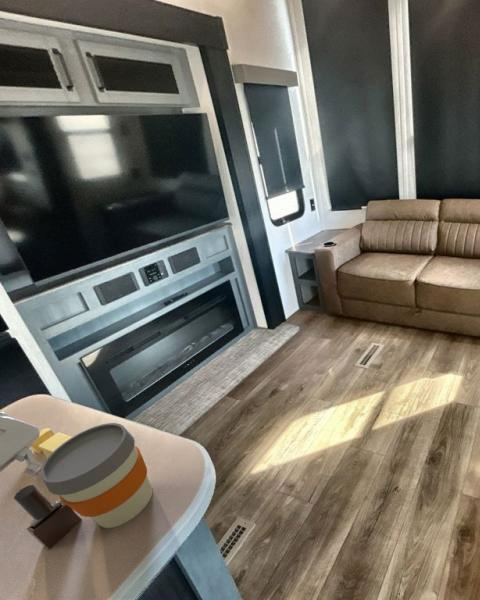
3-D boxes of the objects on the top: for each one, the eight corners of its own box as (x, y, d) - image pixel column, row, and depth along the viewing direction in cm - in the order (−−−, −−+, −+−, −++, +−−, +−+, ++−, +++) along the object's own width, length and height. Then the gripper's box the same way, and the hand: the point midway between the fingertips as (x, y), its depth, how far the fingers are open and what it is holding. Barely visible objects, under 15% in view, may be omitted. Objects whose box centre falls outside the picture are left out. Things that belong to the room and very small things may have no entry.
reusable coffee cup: (177, 482, 72) (143, 428, 65) (116, 548, 62) (68, 492, 55) (134, 468, 76) (98, 416, 69) (70, 527, 66) (20, 473, 59)
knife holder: (49, 549, 63) (32, 532, 60) (42, 545, 63) (25, 529, 61) (81, 520, 67) (67, 503, 65) (75, 516, 68) (60, 500, 65)
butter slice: (58, 439, 86) (50, 429, 85) (39, 453, 83) (30, 442, 81) (54, 437, 87) (45, 427, 85) (34, 451, 84) (25, 440, 82)
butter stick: (84, 449, 83) (76, 438, 81) (65, 464, 79) (56, 453, 78) (66, 442, 85) (58, 432, 84) (46, 456, 82) (37, 445, 80)
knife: (54, 546, 63) (14, 505, 58) (46, 541, 64) (5, 501, 59) (79, 524, 66) (42, 483, 61) (70, 519, 67) (34, 479, 62)
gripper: (-8, 417, 68) (65, 452, 71) (-168, 529, 50) (-61, 570, 53) (-4, 398, 65) (72, 436, 69) (-171, 510, 48) (-59, 554, 51)
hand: (12, 496), depth 61 cm, fingers open, 8 cm apart
